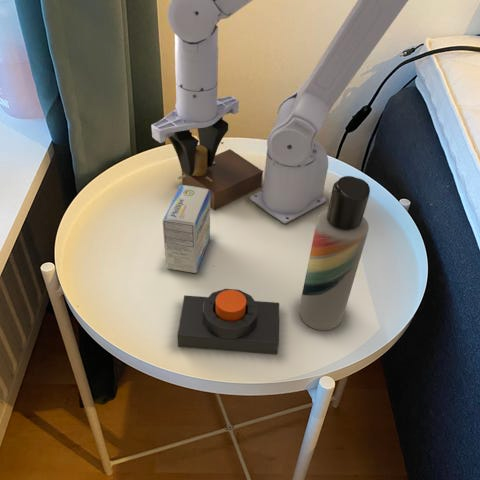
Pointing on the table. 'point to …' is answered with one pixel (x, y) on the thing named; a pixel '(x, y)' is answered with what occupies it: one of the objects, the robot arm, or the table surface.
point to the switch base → (229, 326)
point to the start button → (230, 305)
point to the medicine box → (187, 228)
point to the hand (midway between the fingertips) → (197, 167)
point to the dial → (200, 161)
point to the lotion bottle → (335, 254)
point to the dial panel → (226, 178)
